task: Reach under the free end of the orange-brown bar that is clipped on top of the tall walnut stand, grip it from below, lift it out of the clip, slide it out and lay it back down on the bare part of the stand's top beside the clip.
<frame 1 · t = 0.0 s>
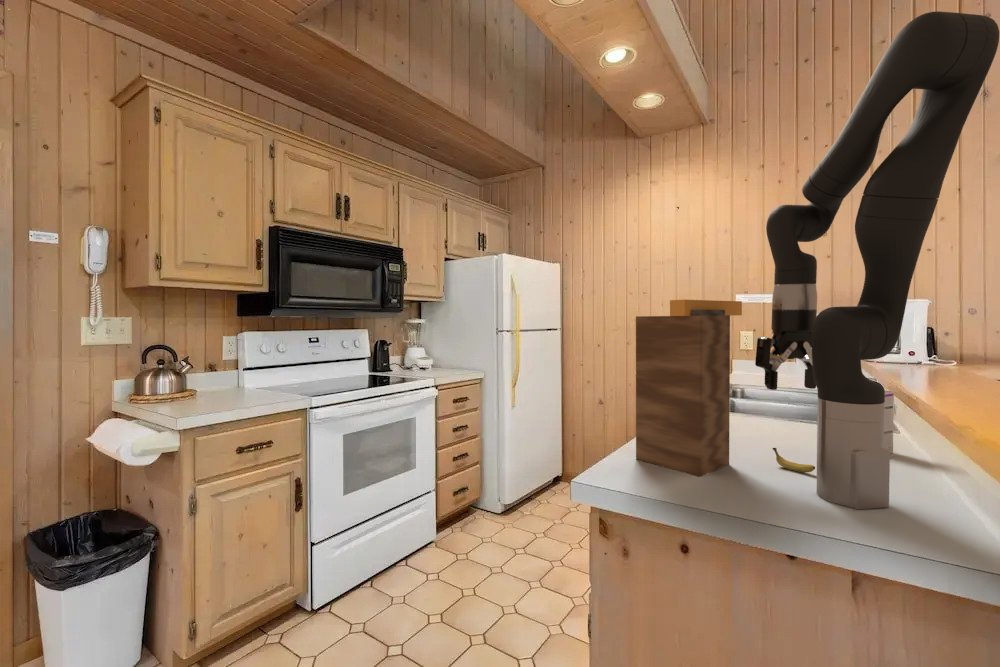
hand: (791, 388, 93), 17 cm above the worktop, tool pointing down, fingers open, 8 cm apart
orange-brown bar: (708, 315, 100), point 32 cm above the worktop, touching walnut stand
banana: (793, 471, 96), on the worktop
walnut stand: (681, 461, 102), on the worktop
syrup box: (872, 452, 108), on the worktop
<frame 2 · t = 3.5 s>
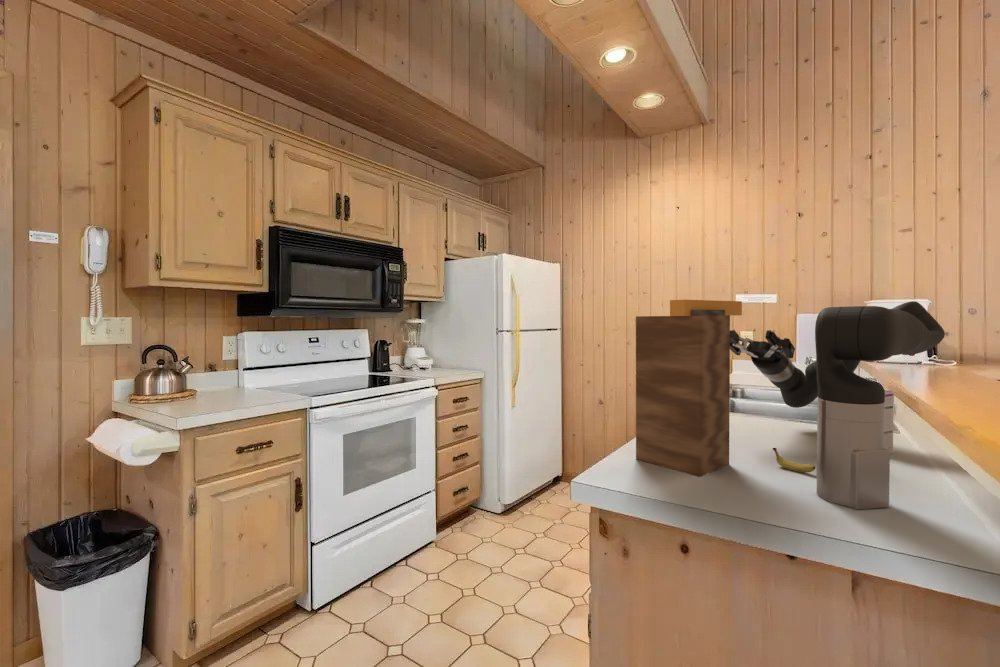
hand: (748, 333, 112), 28 cm above the worktop, tool pointing upward, fingers open, 8 cm apart
nothing on the worktop moved.
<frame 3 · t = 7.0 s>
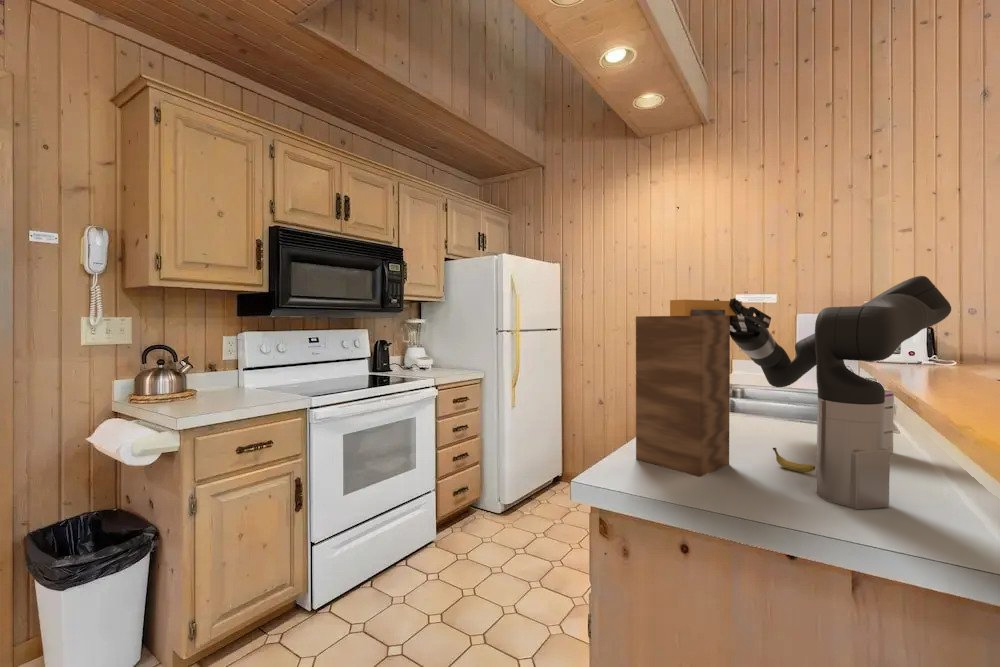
hand: (723, 302, 104), 35 cm above the worktop, tool pointing upward, fingers closed on orange-brown bar, 3 cm apart
orange-brown bar: (708, 315, 100), point 32 cm above the worktop, touching gripper, walnut stand
everything else where it was.
when the fingers open (36 cm above the worktop, at t = 15.5 s): orange-brown bar drops 1 cm, resting on walnut stand.
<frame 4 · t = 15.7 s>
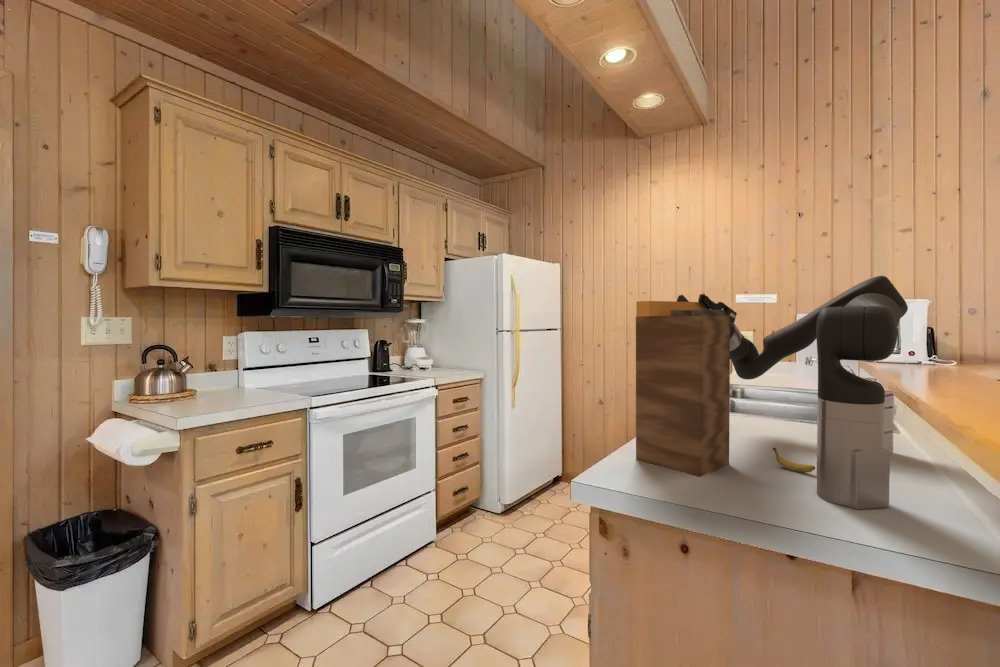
hand: (689, 297, 110), 36 cm above the worktop, tool pointing upward, fingers open, 4 cm apart
orange-brown bar: (674, 316, 106), point 32 cm above the worktop, touching walnut stand
everything else where it was.
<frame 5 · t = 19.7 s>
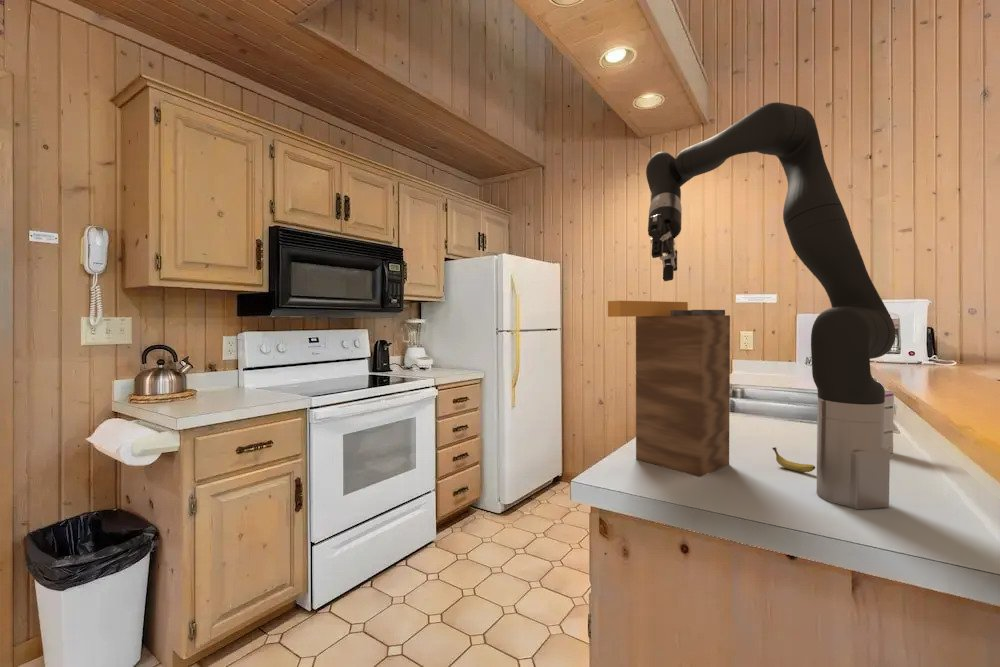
hand: (662, 268, 105), 43 cm above the worktop, tool tilted 35°, fingers open, 8 cm apart
orange-brown bar: (650, 316, 102), point 32 cm above the worktop, touching walnut stand
everything else where it was.
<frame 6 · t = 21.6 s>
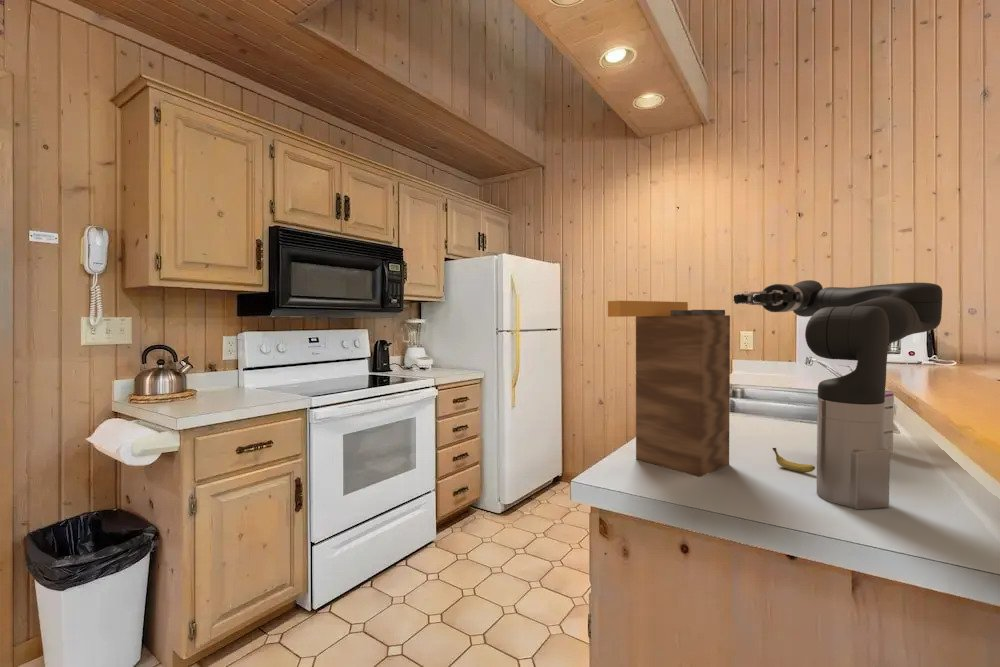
hand: (752, 297, 117), 36 cm above the worktop, tool horizontal, fingers open, 8 cm apart
nothing on the worktop moved.
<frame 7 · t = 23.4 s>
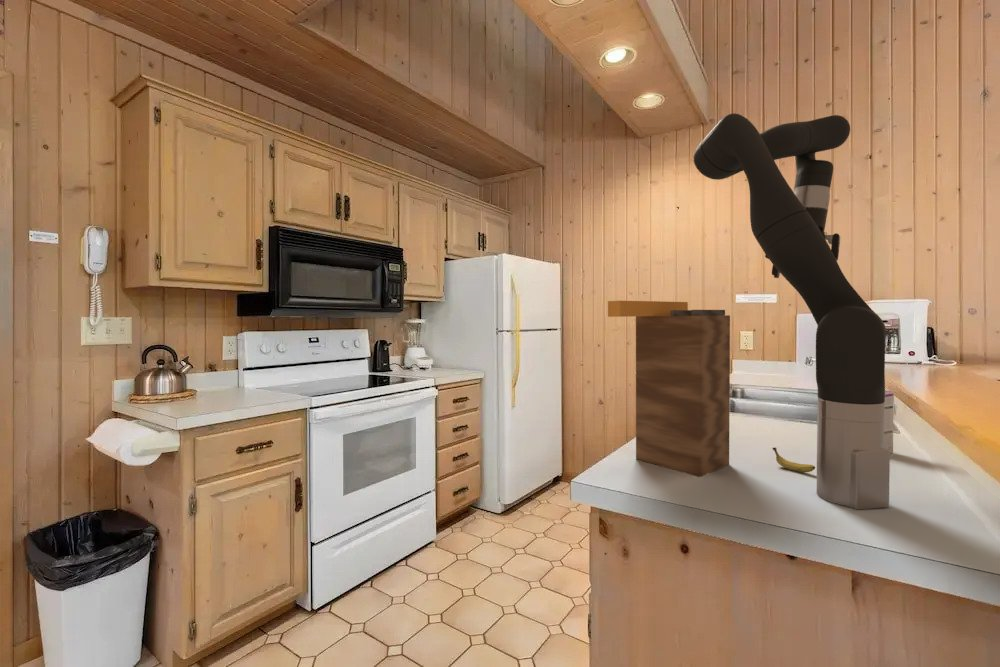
hand: (796, 278, 109), 40 cm above the worktop, tool pointing down, fingers open, 8 cm apart
nothing on the worktop moved.
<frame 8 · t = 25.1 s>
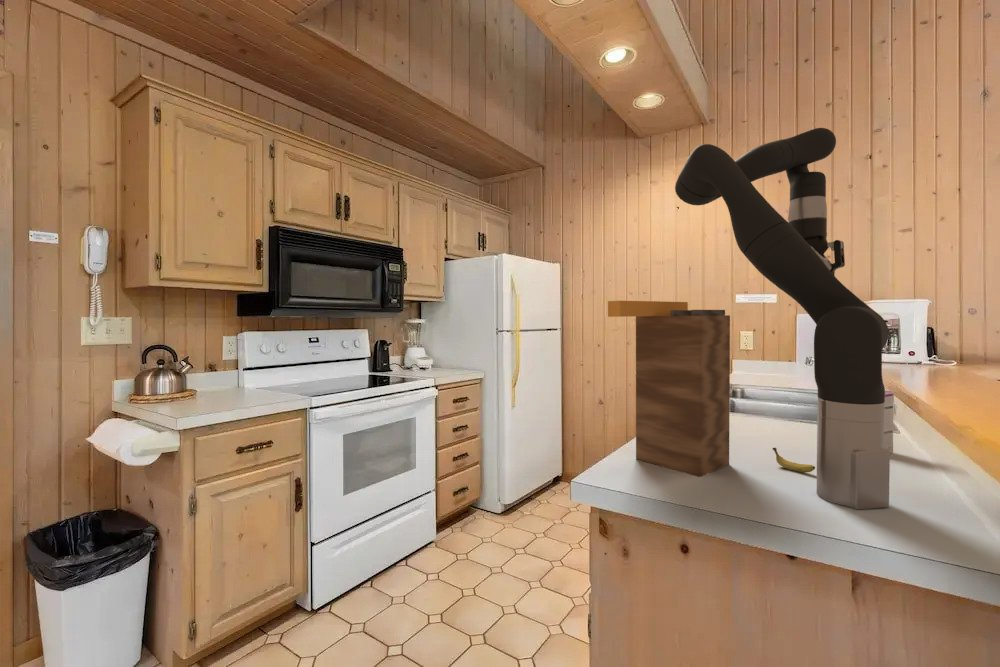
hand: (806, 288, 109), 38 cm above the worktop, tool pointing down, fingers open, 8 cm apart
nothing on the worktop moved.
at the end: orange-brown bar inside the target area (7.9 cm from its centre), point 32.0 cm above the worktop; orange-brown bar moved 12.2 cm from its start; the gripper is holding nothing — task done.
